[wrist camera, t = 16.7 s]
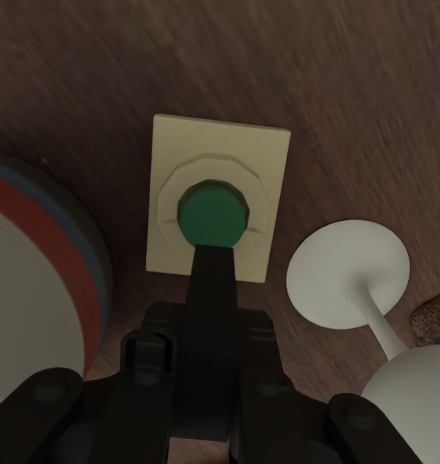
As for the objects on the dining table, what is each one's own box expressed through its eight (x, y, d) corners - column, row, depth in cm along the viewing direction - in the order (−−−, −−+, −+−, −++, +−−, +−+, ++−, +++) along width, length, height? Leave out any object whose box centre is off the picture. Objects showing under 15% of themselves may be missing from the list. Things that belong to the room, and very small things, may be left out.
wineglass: (263, 259, 27) (375, 725, 7) (376, 194, 25) (919, 574, 6) (321, 345, 30) (518, 859, 10) (427, 292, 28) (919, 784, 8)
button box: (262, 272, 27) (267, 297, 24) (149, 260, 27) (140, 284, 24) (286, 128, 24) (297, 135, 21) (158, 113, 23) (147, 117, 20)
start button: (239, 244, 23) (240, 256, 22) (180, 238, 23) (177, 249, 21) (247, 186, 22) (249, 195, 20) (185, 179, 22) (182, 187, 20)
